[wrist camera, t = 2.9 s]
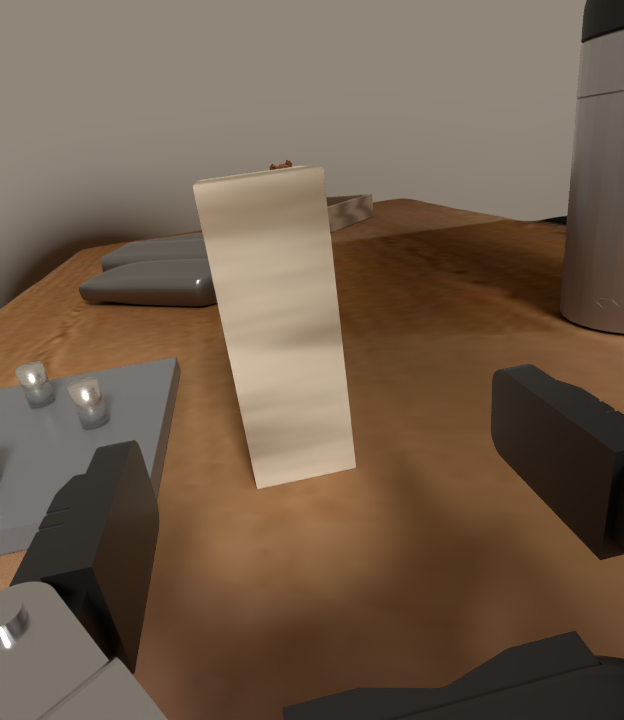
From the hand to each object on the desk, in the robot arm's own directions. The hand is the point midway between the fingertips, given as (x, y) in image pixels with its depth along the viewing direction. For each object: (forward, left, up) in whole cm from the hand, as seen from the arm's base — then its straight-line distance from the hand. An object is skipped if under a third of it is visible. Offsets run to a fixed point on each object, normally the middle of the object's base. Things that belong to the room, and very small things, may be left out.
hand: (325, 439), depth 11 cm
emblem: (-34, -42, -8) cm, 55 cm away
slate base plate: (-1, -22, -8) cm, 23 cm away
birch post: (-8, -8, -8) cm, 14 cm away
